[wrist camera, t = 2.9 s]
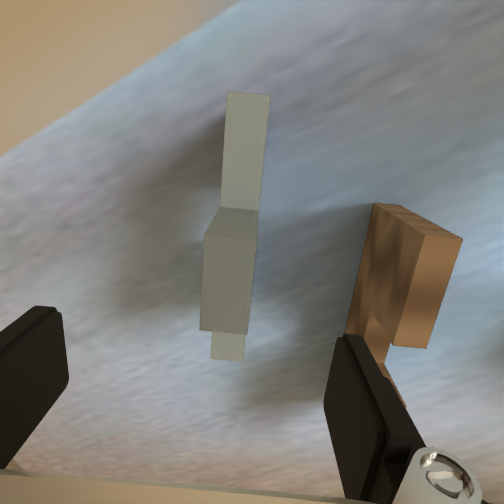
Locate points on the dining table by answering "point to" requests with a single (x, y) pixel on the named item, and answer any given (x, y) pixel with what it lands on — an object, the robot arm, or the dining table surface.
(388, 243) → the walnut slotted board
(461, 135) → the dining table surface
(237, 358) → the grey slotted plate
